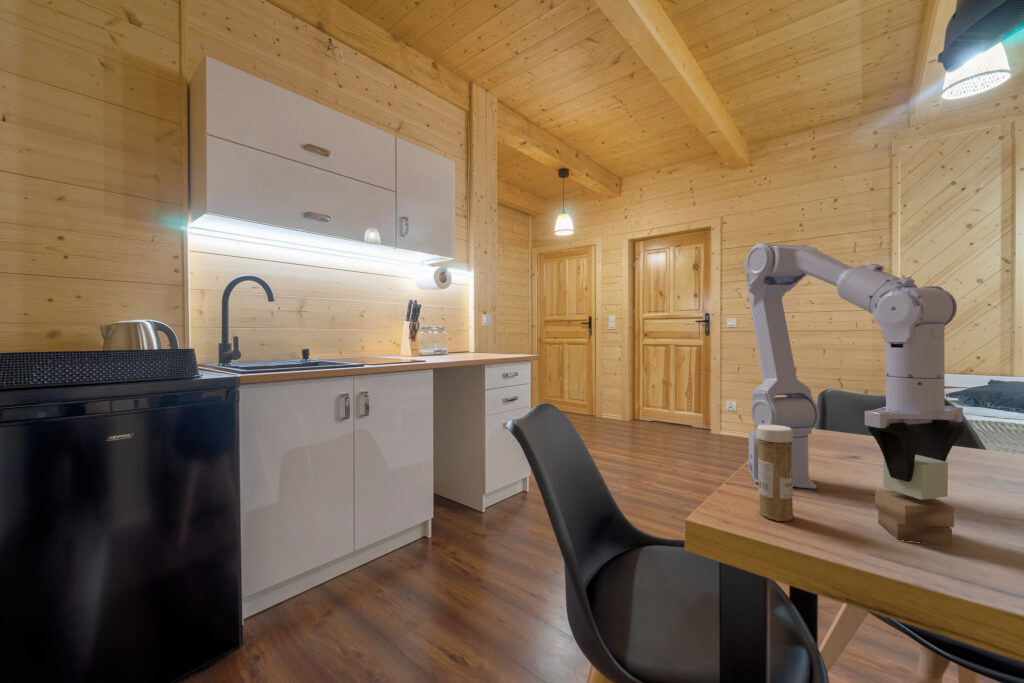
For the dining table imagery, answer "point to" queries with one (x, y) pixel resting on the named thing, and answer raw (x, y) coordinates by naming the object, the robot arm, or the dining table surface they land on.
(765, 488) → the sprinkles bottle
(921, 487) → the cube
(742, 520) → the dining table surface
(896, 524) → the tower bottom
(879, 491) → the tower top
